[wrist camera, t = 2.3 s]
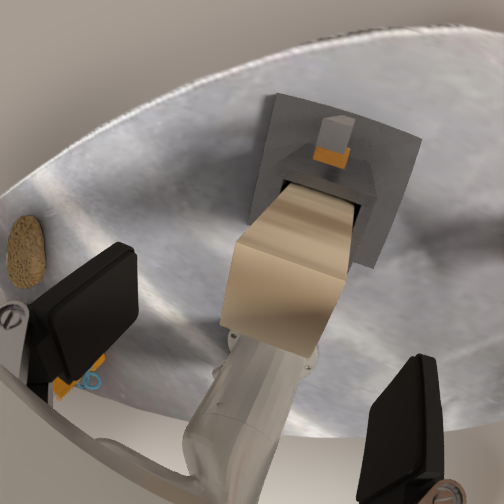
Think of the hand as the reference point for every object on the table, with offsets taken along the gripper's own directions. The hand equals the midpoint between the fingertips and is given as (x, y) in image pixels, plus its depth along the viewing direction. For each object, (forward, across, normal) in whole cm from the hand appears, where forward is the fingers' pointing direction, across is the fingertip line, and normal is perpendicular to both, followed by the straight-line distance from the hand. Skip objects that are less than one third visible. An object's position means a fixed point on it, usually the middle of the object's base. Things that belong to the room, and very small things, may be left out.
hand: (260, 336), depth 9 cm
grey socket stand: (+24, 0, +1) cm, 24 cm away
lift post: (+22, 0, +1) cm, 22 cm away
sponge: (+24, +51, +28) cm, 63 cm away
